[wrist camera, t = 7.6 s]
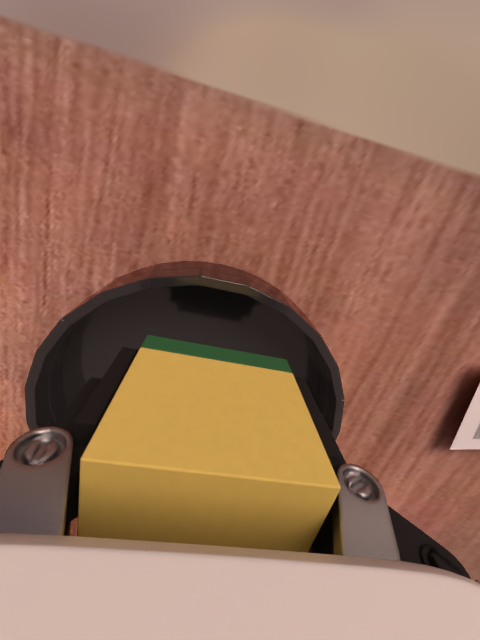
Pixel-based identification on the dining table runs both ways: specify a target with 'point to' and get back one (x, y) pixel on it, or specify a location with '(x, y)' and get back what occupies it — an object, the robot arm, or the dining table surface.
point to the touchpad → (469, 426)
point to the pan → (179, 332)
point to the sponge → (206, 454)
